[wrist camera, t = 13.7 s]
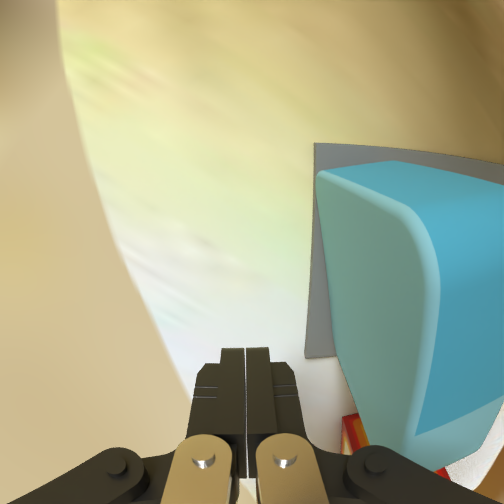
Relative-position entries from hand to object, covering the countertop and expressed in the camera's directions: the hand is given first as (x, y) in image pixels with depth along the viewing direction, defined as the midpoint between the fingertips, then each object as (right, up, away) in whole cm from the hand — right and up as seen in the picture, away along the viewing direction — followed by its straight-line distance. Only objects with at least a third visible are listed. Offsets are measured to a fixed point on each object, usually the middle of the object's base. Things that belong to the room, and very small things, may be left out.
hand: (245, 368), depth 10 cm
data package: (+7, +3, +9) cm, 12 cm away
